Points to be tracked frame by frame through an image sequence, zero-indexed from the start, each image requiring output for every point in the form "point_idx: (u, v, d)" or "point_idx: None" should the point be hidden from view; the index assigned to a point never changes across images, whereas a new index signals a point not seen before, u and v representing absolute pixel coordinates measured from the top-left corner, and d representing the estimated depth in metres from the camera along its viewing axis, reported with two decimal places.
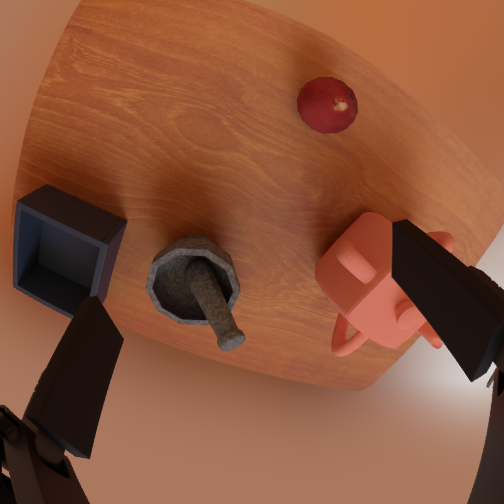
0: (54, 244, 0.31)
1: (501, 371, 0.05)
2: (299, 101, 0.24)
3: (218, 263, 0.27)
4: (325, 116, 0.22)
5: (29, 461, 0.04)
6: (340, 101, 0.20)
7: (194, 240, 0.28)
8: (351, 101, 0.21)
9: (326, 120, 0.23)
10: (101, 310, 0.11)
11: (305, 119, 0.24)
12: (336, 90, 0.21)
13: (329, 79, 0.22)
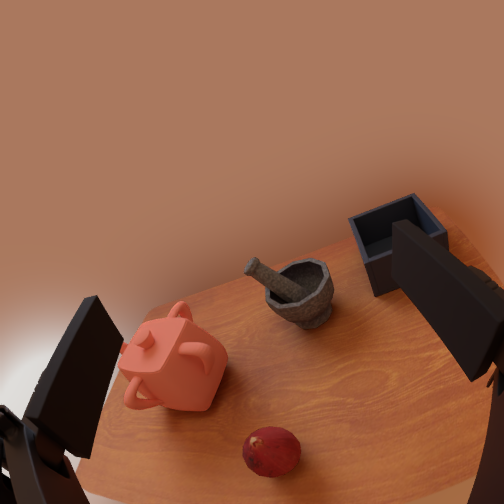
0: None
1: (501, 371, 0.05)
2: (295, 438, 0.24)
3: (287, 304, 0.36)
4: (265, 431, 0.24)
5: (29, 461, 0.04)
6: (256, 442, 0.22)
7: (314, 310, 0.36)
8: (248, 453, 0.22)
9: (263, 430, 0.24)
10: (102, 310, 0.11)
11: None
12: (265, 454, 0.21)
13: (277, 465, 0.21)
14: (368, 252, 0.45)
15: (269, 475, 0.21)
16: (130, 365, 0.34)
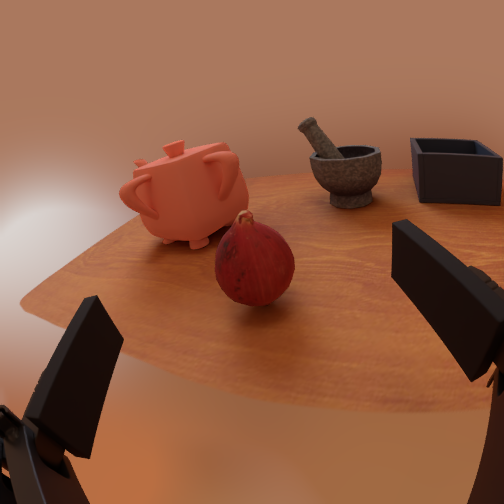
0: None
1: (501, 371, 0.05)
2: (292, 254, 0.21)
3: (331, 159, 0.32)
4: None
5: (29, 461, 0.04)
6: (244, 214, 0.19)
7: (356, 175, 0.32)
8: (227, 235, 0.20)
9: None
10: (102, 310, 0.11)
11: None
12: (247, 237, 0.19)
13: (256, 263, 0.18)
14: None
15: (237, 283, 0.19)
16: (146, 166, 0.34)
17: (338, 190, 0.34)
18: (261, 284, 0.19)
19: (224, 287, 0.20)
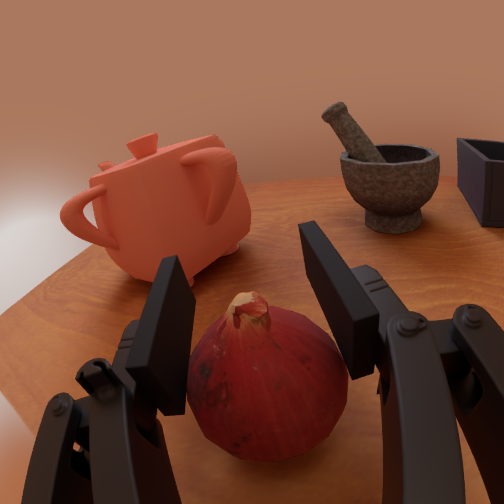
0: None
1: (384, 379, 0.07)
2: None
3: (375, 163, 0.21)
4: (281, 309, 0.09)
5: (123, 430, 0.05)
6: (248, 307, 0.08)
7: (410, 189, 0.20)
8: (208, 347, 0.08)
9: (276, 307, 0.10)
10: (181, 270, 0.13)
11: None
12: (256, 366, 0.07)
13: (276, 423, 0.07)
14: None
15: (233, 447, 0.07)
16: (103, 173, 0.22)
17: (382, 208, 0.23)
18: (285, 451, 0.07)
19: (208, 438, 0.08)
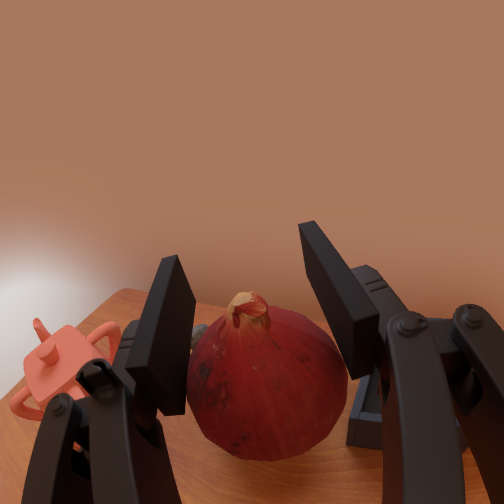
0: None
1: (384, 379, 0.07)
2: None
3: None
4: (281, 308, 0.09)
5: (123, 430, 0.05)
6: (247, 307, 0.08)
7: None
8: (207, 347, 0.08)
9: (276, 307, 0.10)
10: (181, 270, 0.13)
11: None
12: (255, 366, 0.07)
13: (276, 423, 0.07)
14: None
15: (232, 447, 0.07)
16: (29, 370, 0.23)
17: None
18: (284, 450, 0.07)
19: (207, 438, 0.08)
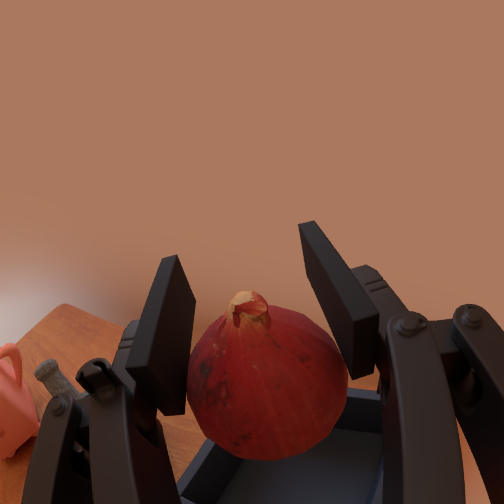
0: (342, 475, 0.16)
1: (384, 379, 0.07)
2: None
3: None
4: (281, 308, 0.09)
5: (123, 430, 0.05)
6: (247, 306, 0.08)
7: None
8: (207, 346, 0.08)
9: None
10: (181, 270, 0.13)
11: None
12: (256, 365, 0.07)
13: (276, 422, 0.07)
14: None
15: (233, 446, 0.07)
16: None
17: None
18: (285, 450, 0.07)
19: (207, 437, 0.08)
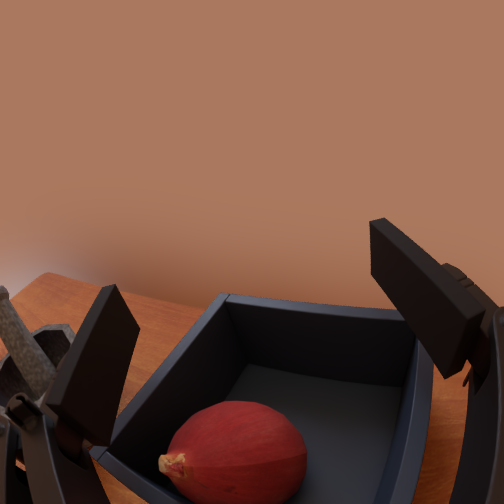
0: (345, 443, 0.13)
1: (476, 371, 0.06)
2: (291, 452, 0.09)
3: None
4: (208, 434, 0.09)
5: (47, 452, 0.04)
6: (167, 474, 0.07)
7: None
8: None
9: (207, 426, 0.09)
10: (120, 299, 0.12)
11: (267, 416, 0.10)
12: (198, 497, 0.07)
13: None
14: (241, 387, 0.18)
15: None
16: None
17: None
18: None
19: None
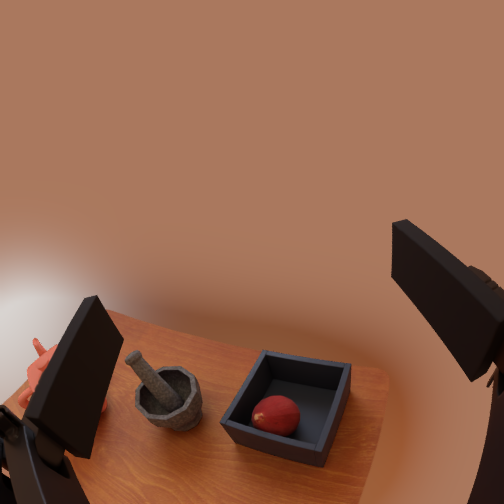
0: (316, 413, 0.33)
1: (501, 371, 0.05)
2: (294, 411, 0.29)
3: (142, 408, 0.32)
4: (268, 406, 0.29)
5: (29, 461, 0.04)
6: (258, 420, 0.28)
7: (162, 425, 0.32)
8: (254, 423, 0.29)
9: (267, 404, 0.30)
10: (102, 310, 0.11)
11: (286, 400, 0.31)
12: (265, 428, 0.28)
13: None
14: (271, 390, 0.39)
15: None
16: (31, 376, 0.34)
17: None
18: None
19: None
